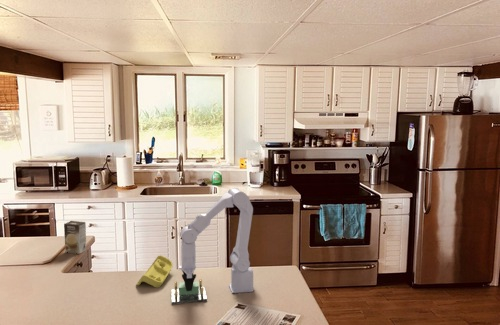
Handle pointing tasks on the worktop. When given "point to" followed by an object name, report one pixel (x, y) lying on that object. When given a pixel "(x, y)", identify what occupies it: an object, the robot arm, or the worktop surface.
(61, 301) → the worktop surface
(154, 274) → the plastic component
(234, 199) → the robot arm
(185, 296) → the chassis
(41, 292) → the worktop surface
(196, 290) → the green rectangular block
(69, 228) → the coffee box
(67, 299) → the worktop surface
